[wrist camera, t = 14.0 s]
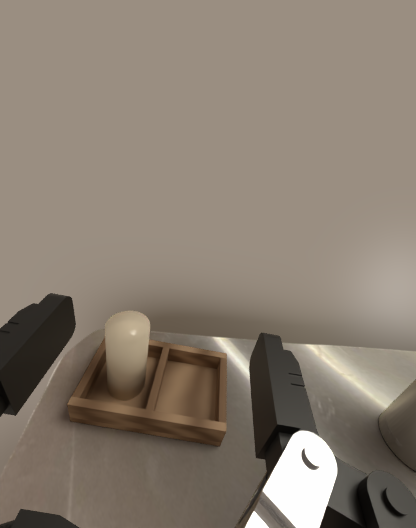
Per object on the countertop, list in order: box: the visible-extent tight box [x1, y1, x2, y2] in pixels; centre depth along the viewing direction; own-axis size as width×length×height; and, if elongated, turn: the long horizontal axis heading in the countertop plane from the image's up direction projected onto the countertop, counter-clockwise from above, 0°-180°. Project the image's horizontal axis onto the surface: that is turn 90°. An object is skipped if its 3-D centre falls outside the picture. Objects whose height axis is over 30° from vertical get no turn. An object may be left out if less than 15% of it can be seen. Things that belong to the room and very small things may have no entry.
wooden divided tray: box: [67, 338, 227, 446], centre depth 37 cm, size 20×12×4 cm, turn 86°
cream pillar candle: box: [105, 311, 150, 401], centre depth 34 cm, size 5×5×12 cm
